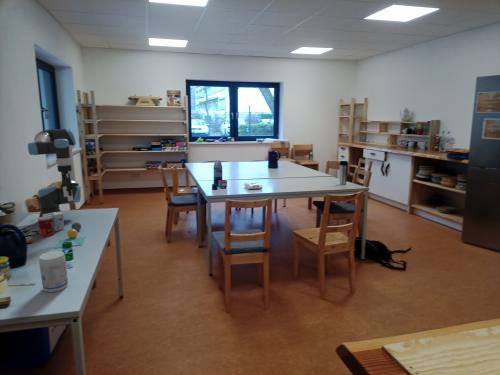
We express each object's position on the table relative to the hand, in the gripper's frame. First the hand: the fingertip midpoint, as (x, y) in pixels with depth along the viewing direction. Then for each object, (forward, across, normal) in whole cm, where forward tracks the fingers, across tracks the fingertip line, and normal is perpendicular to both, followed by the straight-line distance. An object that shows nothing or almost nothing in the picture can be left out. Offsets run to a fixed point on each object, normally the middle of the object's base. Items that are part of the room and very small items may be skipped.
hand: (68, 198), depth 221 cm
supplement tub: (+20, +79, -20) cm, 84 cm away
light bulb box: (+21, -9, -9) cm, 25 cm away
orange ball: (+18, +16, -3) cm, 24 cm away
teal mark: (+20, +23, -5) cm, 31 cm away
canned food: (+21, -1, -14) cm, 25 cm away
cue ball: (+18, +2, +2) cm, 18 cm away
